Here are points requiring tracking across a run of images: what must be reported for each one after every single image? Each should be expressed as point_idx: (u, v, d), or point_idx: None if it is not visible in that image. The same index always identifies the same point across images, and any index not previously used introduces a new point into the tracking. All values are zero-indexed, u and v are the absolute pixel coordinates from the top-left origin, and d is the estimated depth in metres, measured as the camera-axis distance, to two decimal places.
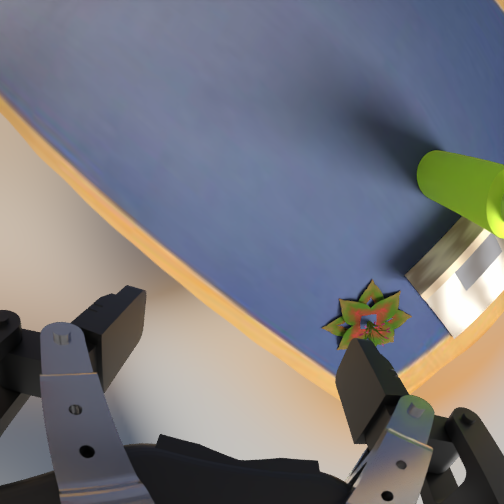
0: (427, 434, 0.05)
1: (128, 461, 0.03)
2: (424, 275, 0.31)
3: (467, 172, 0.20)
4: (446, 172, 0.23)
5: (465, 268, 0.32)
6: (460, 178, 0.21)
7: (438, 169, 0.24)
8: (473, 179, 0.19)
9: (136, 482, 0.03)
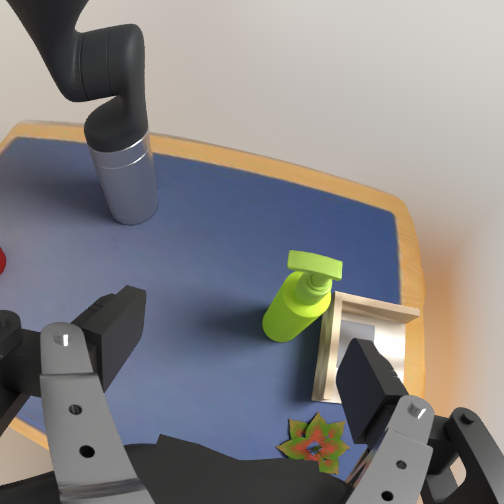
0: (427, 434, 0.05)
1: (127, 461, 0.03)
2: (319, 387, 0.39)
3: (275, 302, 0.37)
4: (270, 315, 0.39)
5: None
6: (275, 310, 0.37)
7: (268, 318, 0.41)
8: (278, 302, 0.36)
9: (136, 482, 0.03)
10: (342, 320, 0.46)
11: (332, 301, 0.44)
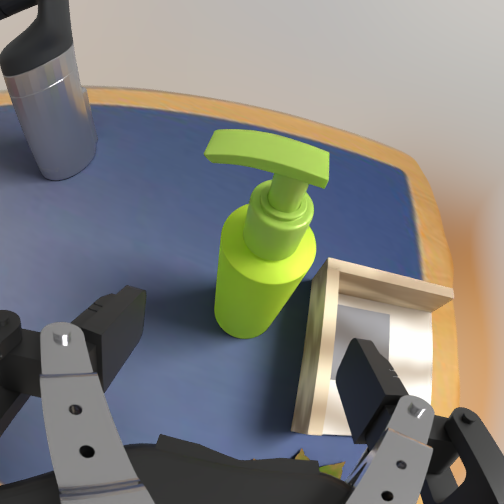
0: (427, 434, 0.05)
1: (127, 461, 0.03)
2: (302, 413, 0.23)
3: None
4: (216, 290, 0.24)
5: None
6: (218, 277, 0.21)
7: (216, 296, 0.25)
8: (219, 261, 0.20)
9: (136, 482, 0.03)
10: (340, 306, 0.30)
11: (323, 273, 0.28)
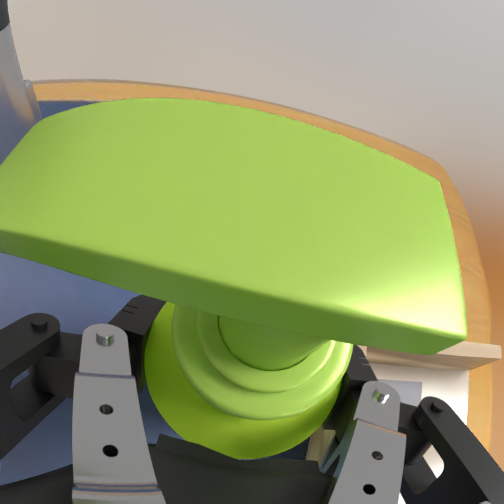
0: (389, 419, 0.06)
1: (150, 465, 0.04)
2: None
3: None
4: None
5: None
6: None
7: None
8: None
9: (154, 486, 0.03)
10: None
11: None
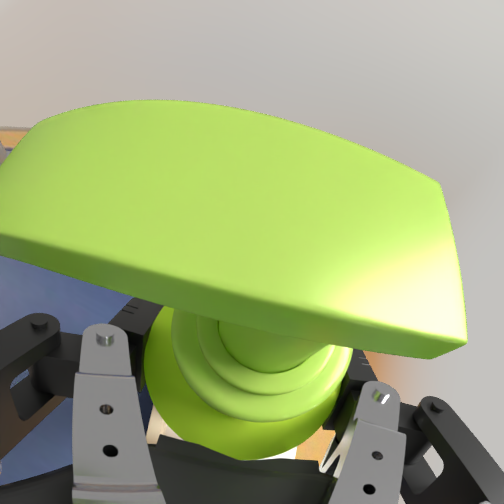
0: (389, 419, 0.06)
1: (150, 465, 0.04)
2: None
3: None
4: None
5: None
6: None
7: None
8: None
9: (154, 486, 0.03)
10: None
11: None
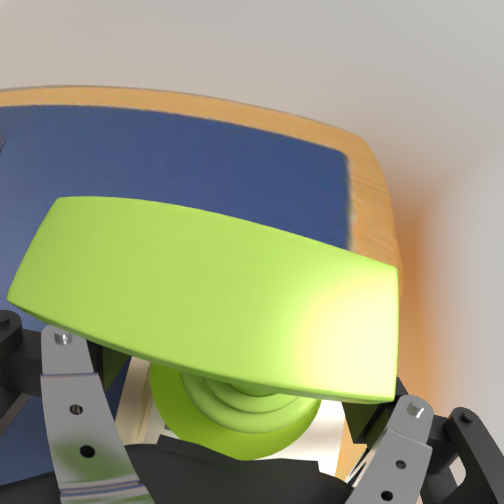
0: (426, 434, 0.05)
1: (128, 461, 0.03)
2: None
3: None
4: None
5: None
6: None
7: None
8: None
9: (136, 482, 0.03)
10: None
11: None
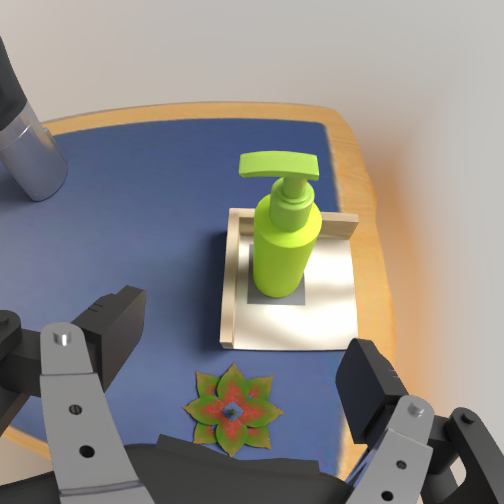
0: (427, 434, 0.05)
1: (127, 461, 0.03)
2: None
3: (254, 241, 0.29)
4: (255, 261, 0.32)
5: None
6: (256, 251, 0.29)
7: (254, 267, 0.33)
8: (255, 239, 0.28)
9: (136, 482, 0.03)
10: None
11: None
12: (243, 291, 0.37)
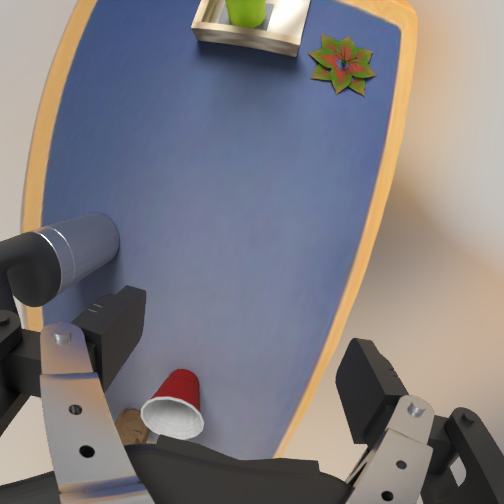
0: (427, 434, 0.05)
1: (127, 461, 0.03)
2: (286, 47, 0.37)
3: (242, 0, 0.29)
4: (248, 11, 0.32)
5: None
6: (248, 2, 0.29)
7: (248, 16, 0.33)
8: None
9: (136, 482, 0.03)
10: None
11: (200, 31, 0.35)
12: None
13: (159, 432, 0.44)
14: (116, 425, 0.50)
